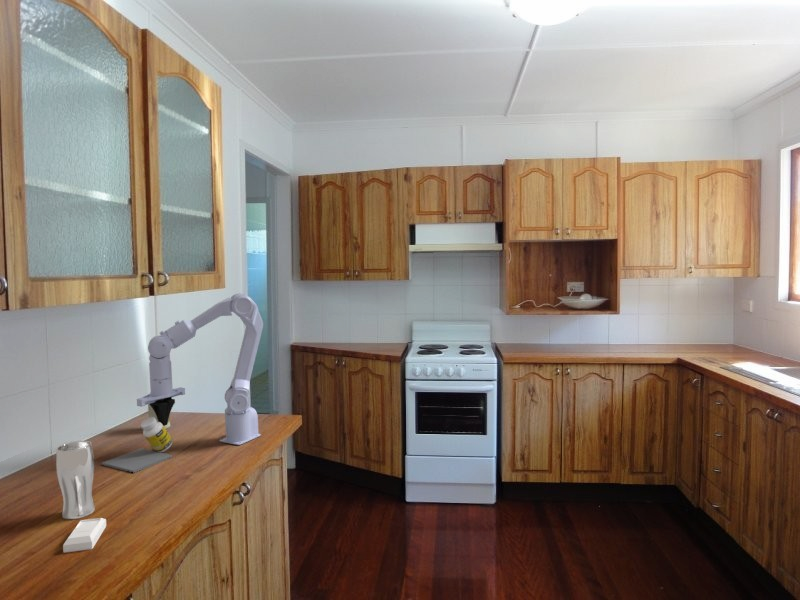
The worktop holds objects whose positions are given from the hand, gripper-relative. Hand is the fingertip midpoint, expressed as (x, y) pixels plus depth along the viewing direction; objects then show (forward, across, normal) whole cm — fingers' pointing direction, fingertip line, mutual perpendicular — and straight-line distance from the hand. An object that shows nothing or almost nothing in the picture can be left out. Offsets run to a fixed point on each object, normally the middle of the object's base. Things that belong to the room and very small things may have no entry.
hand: (163, 424), depth 153 cm
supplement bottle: (+6, 0, 0) cm, 6 cm away
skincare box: (+8, -13, -18) cm, 23 cm away
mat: (+8, +9, 0) cm, 11 cm away
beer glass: (+8, +34, +15) cm, 38 cm away
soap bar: (+8, +40, +27) cm, 49 cm away
